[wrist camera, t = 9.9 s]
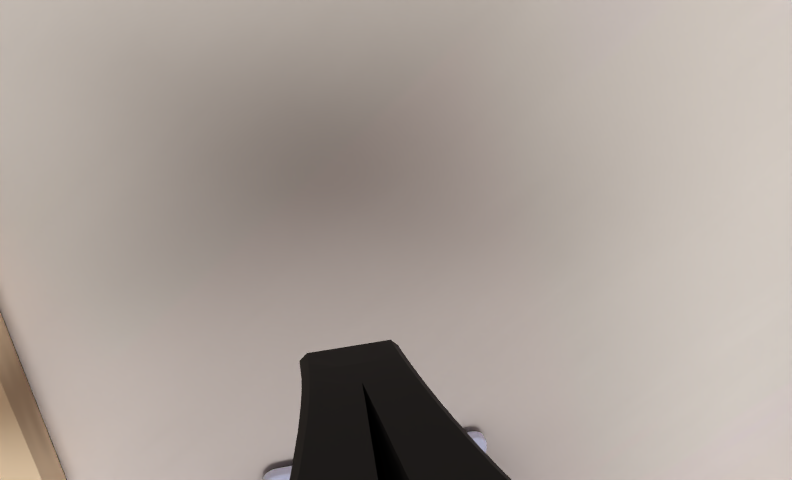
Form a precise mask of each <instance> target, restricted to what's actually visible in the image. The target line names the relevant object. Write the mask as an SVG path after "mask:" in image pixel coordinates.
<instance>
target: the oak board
mask: <svg viewBox="0 0 792 480" xmlns="http://www.w3.org/2000/svg"><path fill="white" fill-rule="evenodd" d="M0 480H66V478H65V475H64V473H63V470H62V467H61V465H60V462H59V460H58V457H57V455H56V452H55V450H54V447H53V445H52V442H51V440H50V437H49V435H48V432H47V429H46V427H45V424H44V422H43V419H42V417H41V414H40V412H39V409H38V407H37V404H36V402H35V399H34V396H33V394H32V391H31V389H30V386H29V384H28V381H27V379H26V376H25V374H24V371H23V369H22V366H21V364H20V361H19V358H18V356H17V353H16V351H15V348H14V346H13V343H12V341H11V338H10V336H9V333H8V331H7V328H6V326H5V323H4V320H3V318H2V315H1V313H0Z"/></svg>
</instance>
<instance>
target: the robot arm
mask: <svg viewBox="0 0 792 480" xmlns="http://www.w3.org/2000/svg"><path fill="white" fill-rule="evenodd" d="M300 368H301V377H302V396H301V409H300V419H299V428H298V435H297V440H296V446H295V452H294V458H293V464H292V466H287V467H282V468H276V469H273V470H270V471H269V472H267V473H266V474H265V475H264V477H263V480H511V479H510V478H509V477H508V476H507V475H506V474H505V473H504V472H503V471H502V470H501V469H500V468H499V467H498V466H497V465H496V464H495V463H494V462H493V461H492V459H491V458H490V457H489V456H488V455H487V454H486V450H487V443H486V440H485V437H484V435H483V434H482V433H481V432H477V431H471V432H466V431H465V430H464V429H463V428H462V427H461V426H460V424H459V423H458V422H457V421H456V420H455V419H454V418H453V417H452V415H451V414H450V413H449V412H448V411H447V409H446V408H445V407H444V406H443V405H442V403H441V402H440V401H439V400H438V399H437V397H436V396H435V395H434V394H433V392H432V391H431V390H430V389H429V387H428V386H427V385H426V384H425V382H424V381H423V380H422V378H421V377H420V376H419V374H418V373H417V372H416V370H415V369H414V368H413V366H412V365H411V364H410V362H409V361H408V359H407V358H406V356H405V355H404V354H403V352H402V351H401V349H400V348H399V346H398V345H397V344H396V343H394V342H393V341H391V340H387V341H381V342H374V343H368V344H362V345H356V346H350V347H343V348H337V349H331V350H325V351H318V352H312V353H307V354H306V355H305V356H304V357H303V358H302V359H301V360H300Z"/></svg>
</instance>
